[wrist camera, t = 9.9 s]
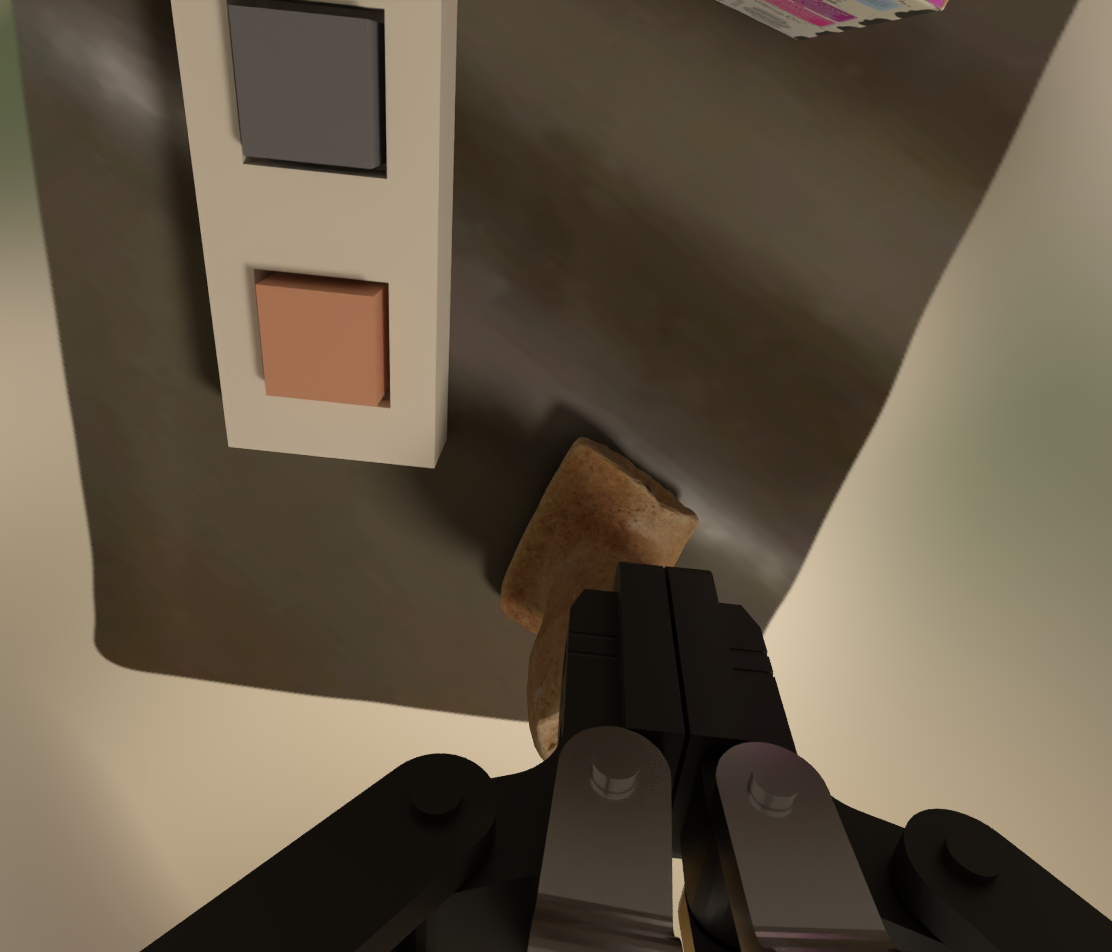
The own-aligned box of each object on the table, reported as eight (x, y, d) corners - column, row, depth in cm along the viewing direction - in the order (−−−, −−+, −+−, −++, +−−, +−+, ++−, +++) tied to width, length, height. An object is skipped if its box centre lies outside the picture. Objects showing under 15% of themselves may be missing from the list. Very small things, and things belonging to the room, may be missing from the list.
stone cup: (632, 658, 54) (643, 844, 41) (482, 597, 52) (443, 771, 39) (745, 497, 48) (800, 657, 34) (577, 420, 46) (567, 559, 32)
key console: (201, -94, 34) (156, -114, 31) (459, -68, 34) (442, -85, 31) (256, 419, 47) (228, 446, 43) (446, 439, 47) (434, 468, 43)
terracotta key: (278, 271, 40) (255, 284, 38) (388, 282, 40) (373, 296, 38) (286, 375, 43) (266, 394, 40) (390, 386, 43) (376, 406, 40)
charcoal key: (256, 10, 35) (228, 4, 32) (385, 23, 35) (367, 19, 32) (268, 150, 37) (243, 155, 35) (387, 162, 37) (370, 168, 35)
